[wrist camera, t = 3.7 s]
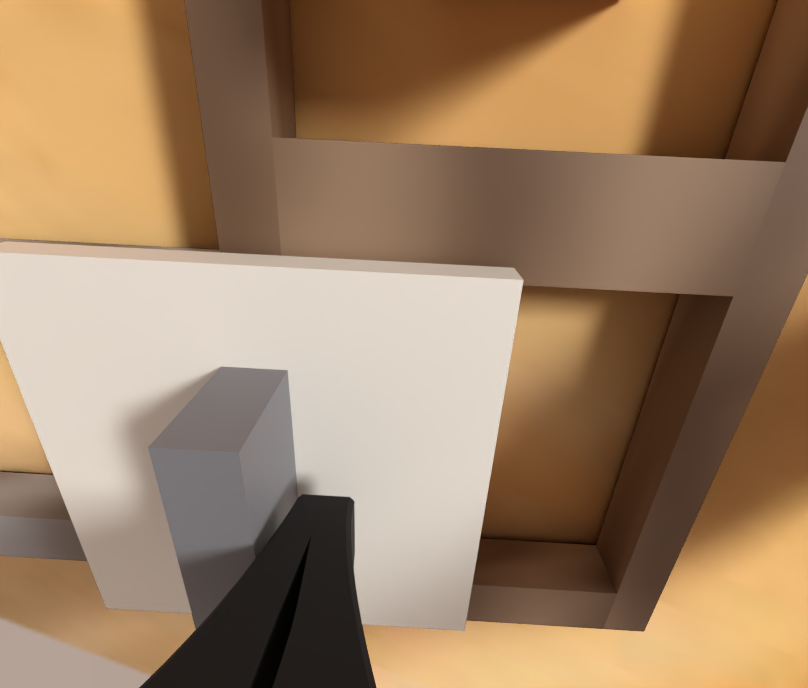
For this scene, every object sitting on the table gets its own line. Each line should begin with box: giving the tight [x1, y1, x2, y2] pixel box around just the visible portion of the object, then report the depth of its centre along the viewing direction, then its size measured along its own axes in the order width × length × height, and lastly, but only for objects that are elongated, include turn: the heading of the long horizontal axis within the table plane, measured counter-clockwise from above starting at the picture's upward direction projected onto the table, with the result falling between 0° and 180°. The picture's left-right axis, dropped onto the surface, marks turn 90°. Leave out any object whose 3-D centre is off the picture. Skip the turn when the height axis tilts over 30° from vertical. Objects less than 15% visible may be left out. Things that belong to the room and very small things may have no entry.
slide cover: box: [0, 241, 524, 631], centre depth 11 cm, size 12×12×4 cm
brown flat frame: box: [0, 0, 808, 631], centre depth 11 cm, size 26×29×2 cm
